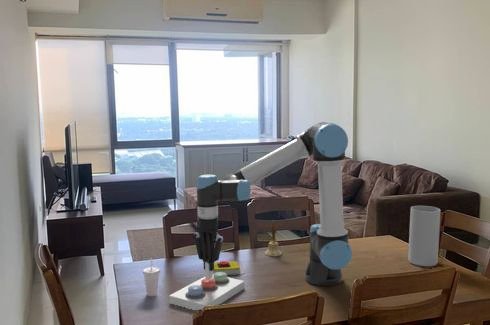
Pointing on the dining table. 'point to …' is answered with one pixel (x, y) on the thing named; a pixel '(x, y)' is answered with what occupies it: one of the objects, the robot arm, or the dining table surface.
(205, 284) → the red button
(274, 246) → the hand bell
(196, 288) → the slate-blue button
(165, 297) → the dining table surface
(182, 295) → the button panel
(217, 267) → the emergency button
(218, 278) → the sage-green button
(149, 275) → the smoothie
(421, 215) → the cylinder vase
